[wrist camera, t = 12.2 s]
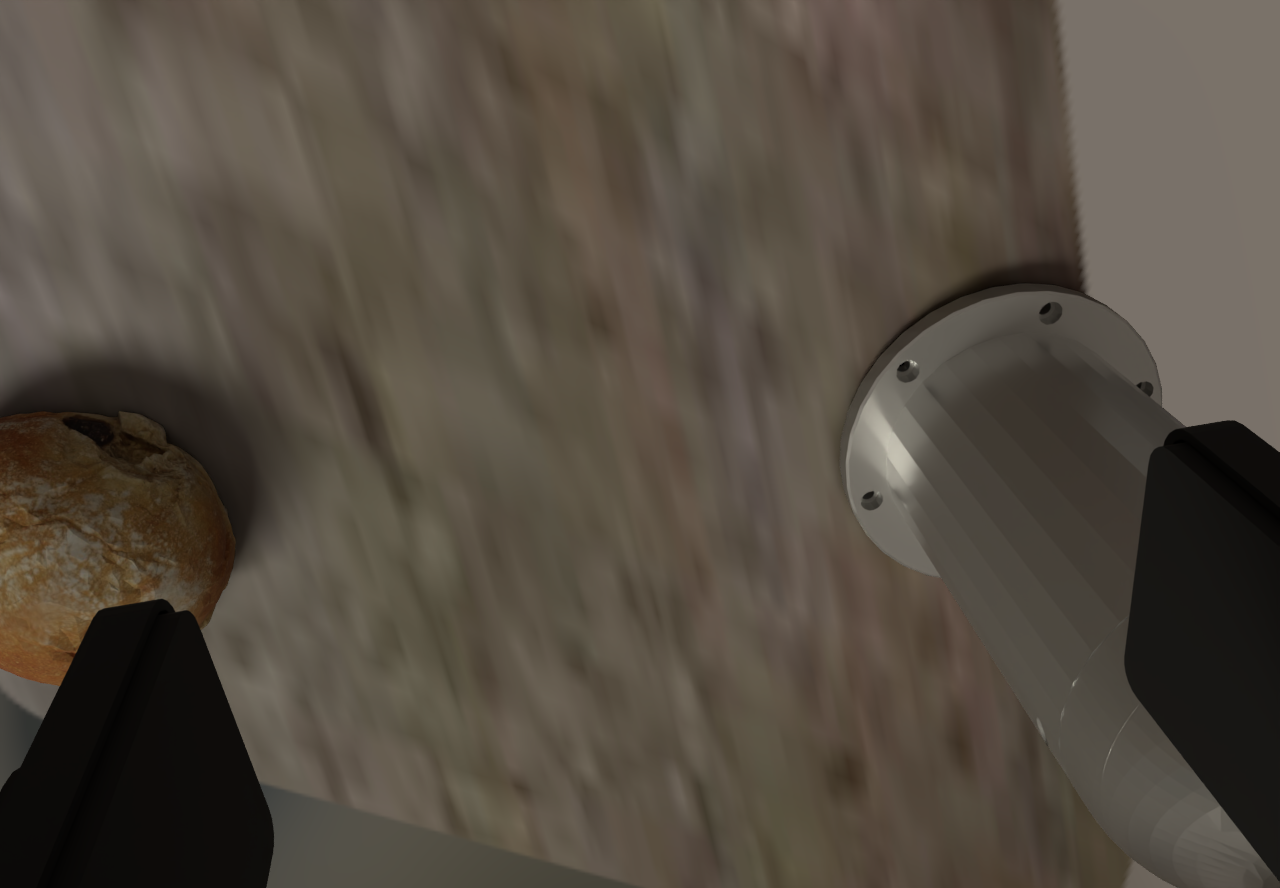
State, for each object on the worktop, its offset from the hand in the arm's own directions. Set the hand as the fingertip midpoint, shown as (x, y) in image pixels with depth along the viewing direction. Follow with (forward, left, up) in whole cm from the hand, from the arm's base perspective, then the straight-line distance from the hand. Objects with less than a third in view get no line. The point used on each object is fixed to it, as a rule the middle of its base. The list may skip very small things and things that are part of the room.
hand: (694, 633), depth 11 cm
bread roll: (+4, +23, -29) cm, 37 cm away
